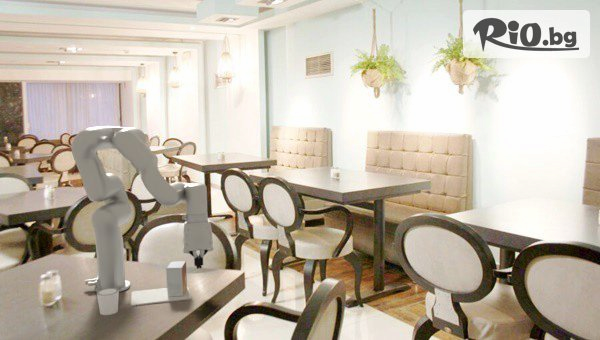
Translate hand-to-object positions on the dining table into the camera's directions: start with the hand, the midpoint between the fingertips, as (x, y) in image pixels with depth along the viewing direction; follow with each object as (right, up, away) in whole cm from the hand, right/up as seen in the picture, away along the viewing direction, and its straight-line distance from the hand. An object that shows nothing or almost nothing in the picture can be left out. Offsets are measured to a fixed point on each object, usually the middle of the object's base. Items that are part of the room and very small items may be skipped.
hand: (198, 267), depth 190 cm
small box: (-7, -9, -1) cm, 12 cm away
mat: (-13, -10, -3) cm, 16 cm away
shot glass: (-27, -12, -16) cm, 33 cm away
